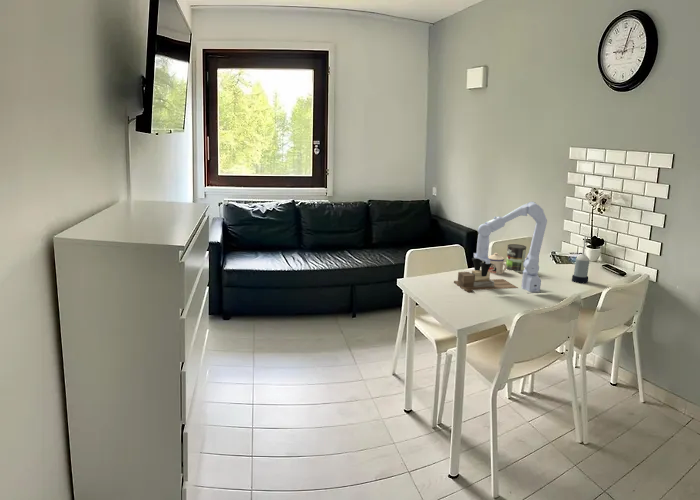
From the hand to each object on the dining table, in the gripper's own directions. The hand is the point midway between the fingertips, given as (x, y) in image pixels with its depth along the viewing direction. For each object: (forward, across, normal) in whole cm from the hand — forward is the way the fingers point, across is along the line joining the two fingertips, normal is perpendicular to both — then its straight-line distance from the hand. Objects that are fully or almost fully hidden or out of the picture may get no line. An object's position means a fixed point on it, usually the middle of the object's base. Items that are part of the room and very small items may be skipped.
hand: (480, 274), depth 276 cm
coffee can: (+7, -28, +35) cm, 46 cm away
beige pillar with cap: (+6, 0, 0) cm, 6 cm away
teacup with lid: (+7, -21, +20) cm, 30 cm away
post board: (+6, 0, +3) cm, 7 cm away
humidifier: (+7, -2, +59) cm, 60 cm away
